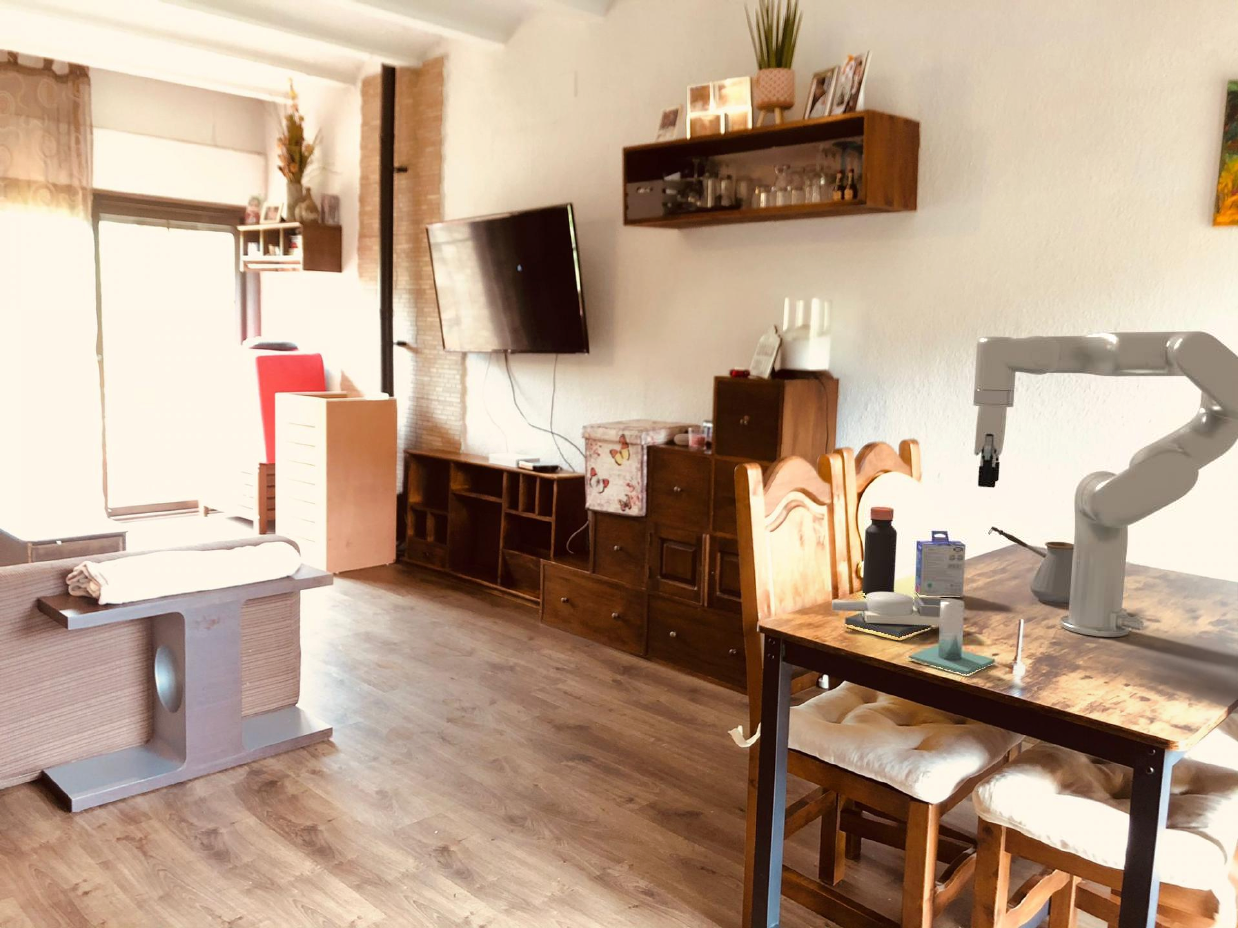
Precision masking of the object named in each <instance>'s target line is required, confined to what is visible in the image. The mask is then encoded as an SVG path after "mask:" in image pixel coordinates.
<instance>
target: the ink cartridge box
mask: <svg viewBox="0 0 1238 928" xmlns="http://www.w3.org/2000/svg"><path fill="white" fill-rule="evenodd" d="M939 534H940V535H944V536H942V537H941V536H935V535H939ZM915 547H916V551H915V552H916V554H915V556H916V557H915V579H914V581H915V584H914V592H915V591H916V592H917V593H918V594H919V595H926V596H960V597H964V578H965V560H966V548H967V547H966V544H965V543H963V542H961V541H959V540H950V538H949V534H948V531H947V530H931V540H916V546H915Z"/></svg>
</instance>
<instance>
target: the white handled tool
mask: <svg viewBox="0 0 1238 928" xmlns="http://www.w3.org/2000/svg"><path fill="white" fill-rule="evenodd" d="M943 599H952V598H937V597H919V596H913V597H912V596H910V595H907V594H904V593H898V592H894V593H893V592H873V593H869V594H867V595H866V598H865V600H864V601H863V600H861V601H860V600H842V599H841V600H839V599H836V600H835V599H833V600H832V601H831V611H843V612H844V611H845V612H859V613H861V614H862V615H863V617H864V619H865V621H866V623H888V624H911V625H932V626H938V627H939V621H940V601H941V600H943Z"/></svg>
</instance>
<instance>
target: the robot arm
mask: <svg viewBox="0 0 1238 928" xmlns="http://www.w3.org/2000/svg"><path fill="white" fill-rule="evenodd" d="M975 355H976V357H975V369H974V370H975V373H974V387H973V405H972V406H975V407H978V410H977V416H976V425H975V426H976V427H975V438H974V441H975V442H974V450H973V454H974V456H976V457H977V456H979V454H980V461H979V462H980V463H979V466H978V478H977V485H978V487H980V488H981V487H982V488H991V489H992V488H995V487H996V482H998V481H999V478H1000V460H999V459H1000V455H1001V454H1002V453H1003V448H1004V443H1005V434H1006V425H1007V411H1008V410H1007V409H1008V408H1014V403H1015V388H1016V387H1015V385H1016V373H1022V374H1023V373H1024V374H1030V375H1035V376H1037V375H1039V376H1040V375H1041V376H1043V375H1045V374H1046V375H1047V374H1087V375H1094V376H1099V377H1100V376H1101V377H1186V378H1187V379H1188V380H1189V381H1190V382H1191V383H1192V384H1193V385H1194V386H1195V387H1197V388H1198V390H1200V391H1201V393H1200V403H1199V404H1200V405H1199V409H1198V410H1197V413H1196V414H1195V416H1194V417H1193V418H1192V419H1191V420H1190V421H1188V422H1187V423H1184V424H1183V425H1182V426H1181V427H1179V428H1178V429H1176V430H1173V431H1172V432H1171V433H1169V434H1167V435H1165V436H1163V437H1161V438H1160V439H1159V438H1158V440H1156V441H1153V442H1152V443H1150V444H1148V445H1146V446H1144V447H1142V448H1140V449H1139V450H1138V451H1136V452H1135V453H1134V454H1133V455H1132V457H1131V458H1130V461H1129V464H1128V468H1127V469H1124V470H1123V471H1121V472H1119V473H1114V472H1112V471H1107V470H1105V471H1104V470H1101V471H1095V472H1092V473H1089V474H1087V475H1086V476H1085V477H1083V478H1082V479H1081V480H1080V481H1079V483H1078V485H1077V487H1076V490H1075V493H1074V537H1073V544H1074V550H1073V562H1072V576H1071V589H1070V603H1069V606H1068V614H1066V615H1063V616H1061V617H1060V618H1059V625H1060V626H1061V627H1062V628H1064V629H1065V630H1067V631H1070V632H1073V633H1077V634H1080V635H1081V634H1082V635H1085V636H1093V637H1094V636H1095V637H1101V638H1103V637H1105V638H1116V637H1125V636H1126V635H1129V633H1130V629H1131V630H1135V631H1143V629H1144V621H1143V620H1142V619H1141V618H1139V617H1131V616H1129V614H1128V608H1123V599H1124V588H1125V575H1126V564H1127V562H1126V561H1127V554H1128V542H1129V536H1128V535H1129V533H1128V531H1129V528H1128V526H1130V525H1133V524H1135V523H1138V522H1139V521H1141V520H1143V519H1145V518H1148V516H1151V515H1153V514H1154V513H1156V512H1158V511H1160V510H1161V509H1163V508H1165V507H1167V506H1169V505H1172V504H1173V503H1175V502H1176V501H1178V500H1180V499H1182V498H1183V497H1185V496H1186V495H1187V494H1188V493H1189V492H1190V491H1191V490H1193V488H1194V487H1195V485H1196V483H1197V481H1198V478H1199V473H1200V472H1199V470H1201V469H1203V468H1204V467H1206V466H1207V465H1209V464H1210V463H1212V462H1214V461H1216V460H1217V459H1219V458H1220V457H1223V456H1224V454H1226V453H1227V452H1229V450H1231V448H1232V447H1233V446H1234V445H1235V444H1236V443H1237V441H1238V355H1237V354H1236V353H1235V352H1233V350H1231V349H1230V348H1229V347H1227V346H1226V345H1225V344H1224V343H1223V342H1222V341H1220V339H1218V338H1216V337H1215V336H1214V335H1213V334H1210V333H1208V332H1204V331H1201V330H1200V331H1199V330H1198V331H1197V330H1195V331H1194V330H1193V331H1191V330H1190V331H1189V330H1188V331H1139V332H1138V331H1137V332H1136V331H1126V332H1125V331H1123V332H1122V331H1121V332H1117V331H1115V332H1103V333H1095V334H1087V335H1086V334H1085V335H1063V336H1062V335H1059V336H1055V335H1054V336H1049V335H1048V336H1047V335H1045V336H1044V335H1032V336H1027V337H1021V338H1019V337H1018V338H1017V337H1016V338H1014V337H1011V336H983V337H981V338H979V339H978V340H977V343H976V353H975Z"/></svg>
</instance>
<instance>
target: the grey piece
mask: <svg viewBox="0 0 1238 928" xmlns="http://www.w3.org/2000/svg"><path fill="white" fill-rule="evenodd" d="M964 614H965V601H963V600H960V599H957V598H951V599H943V600H941V601H940V621H939V626H938V643H937V645H938V657H939V658H941V659H944V660H950V661H957V660H960V659H962V651H963V640H964V637H963V636H964V617H965V615H964Z"/></svg>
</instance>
